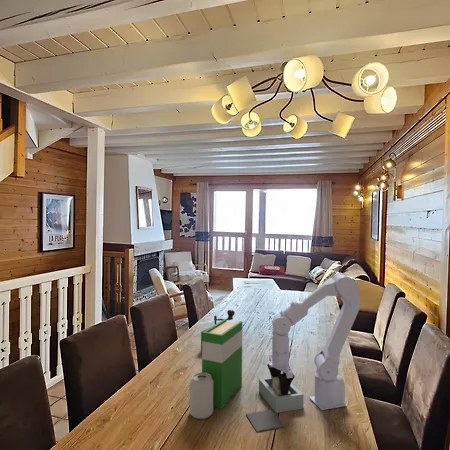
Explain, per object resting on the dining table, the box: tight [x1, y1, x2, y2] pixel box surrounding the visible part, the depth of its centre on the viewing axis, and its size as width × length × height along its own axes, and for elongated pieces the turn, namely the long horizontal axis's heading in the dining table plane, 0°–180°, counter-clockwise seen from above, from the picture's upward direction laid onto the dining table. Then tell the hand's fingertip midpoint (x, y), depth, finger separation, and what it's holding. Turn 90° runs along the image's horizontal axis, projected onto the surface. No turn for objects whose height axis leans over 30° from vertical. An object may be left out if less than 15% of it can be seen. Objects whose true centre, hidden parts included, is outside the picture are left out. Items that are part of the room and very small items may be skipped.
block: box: [272, 377, 281, 395], centre depth 114 cm, size 4×4×4 cm
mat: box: [245, 409, 286, 433], centre depth 101 cm, size 9×9×1 cm
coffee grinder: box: [200, 309, 235, 352], centre depth 161 cm, size 16×11×18 cm
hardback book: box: [201, 318, 243, 410], centre depth 117 cm, size 18×7×24 cm, turn 155°
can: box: [189, 371, 214, 420], centre depth 105 cm, size 8×8×12 cm
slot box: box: [258, 376, 305, 414], centre depth 114 cm, size 10×14×5 cm
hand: (280, 389), depth 114 cm, fingers open, 6 cm apart
